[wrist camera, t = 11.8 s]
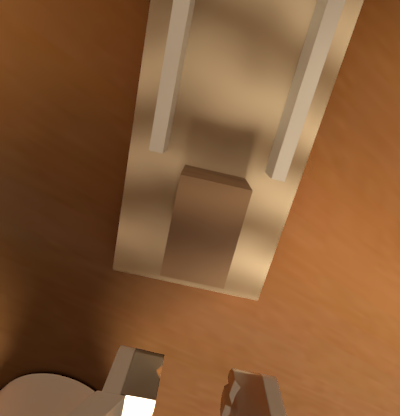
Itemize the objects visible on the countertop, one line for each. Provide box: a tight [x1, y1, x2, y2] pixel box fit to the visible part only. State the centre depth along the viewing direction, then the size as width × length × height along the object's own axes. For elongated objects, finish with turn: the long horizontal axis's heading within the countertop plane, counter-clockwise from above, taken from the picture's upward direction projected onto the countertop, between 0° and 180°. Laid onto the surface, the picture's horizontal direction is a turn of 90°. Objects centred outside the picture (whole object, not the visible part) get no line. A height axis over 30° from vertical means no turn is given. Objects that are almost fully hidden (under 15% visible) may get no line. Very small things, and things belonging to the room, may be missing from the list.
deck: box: [113, 0, 364, 301], centre depth 21 cm, size 34×14×2 cm, turn 167°
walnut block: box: [160, 165, 253, 289], centre depth 21 cm, size 8×5×4 cm, turn 167°
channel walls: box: [149, 0, 346, 182], centre depth 18 cm, size 19×10×2 cm, turn 167°
